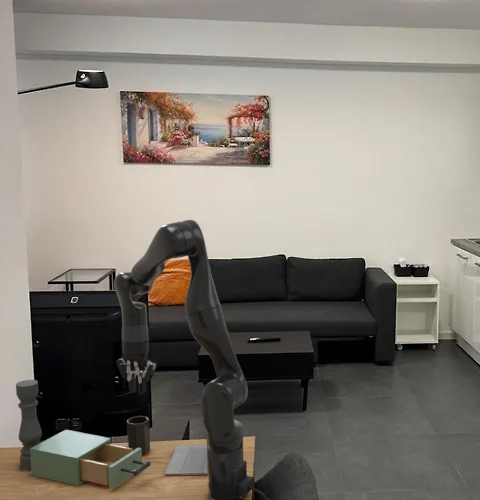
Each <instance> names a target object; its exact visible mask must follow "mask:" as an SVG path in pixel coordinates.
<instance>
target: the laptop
mask: <svg viewBox="0 0 480 500" xmlns="http://www.w3.org/2000/svg"><path fill="white" fill-rule="evenodd" d="M164 475H177V476H178V475H179V476H182V475H185V476H186V475H188V476H189V475H191V476H192V475H194V476H197V475H198V476H199V475H201V476H202V475H208V434H207V433H206V444H194V445H193V444H191V445H190V444H189V445H186V444H185V445H176V446H175V449H174V451H173V454H172V456H171V458H170V460H169V462H168V465H167V467H166V469H165V472H164Z"/></svg>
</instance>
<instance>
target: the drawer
mask: <svg viewBox="0 0 480 500" xmlns="http://www.w3.org/2000/svg"><path fill="white" fill-rule="evenodd" d="M151 465H152V463H151V462H150V461H149V460H147V461H146V462H145V461H143V456H142V451H141V448H137V449H135V450H133V449H132V448H128V446H127V447H126V446H122V445H117V444H112V443H111V444H107V443H106V444H105V445H103V446H101V447H100V448H98V449H96V450H95V451H93V452H91V453H90V454H88V455H86V456H85V457H83V458H81V459H79V467H80V479H81V480H86V481H85V482H90V483H96V484H100V485H104V486H109V487H108V488H109V489H110V490H114V489H115V488H117V487H119V486H120V485H121V484H123V483H124V482H126V481H127V480H129V479H130V478H131V477H133V476H135V477H137V476H138V475H140V473H142V472H143V471H145V470H146V469H148V468H149V467H150V466H151Z"/></svg>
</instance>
